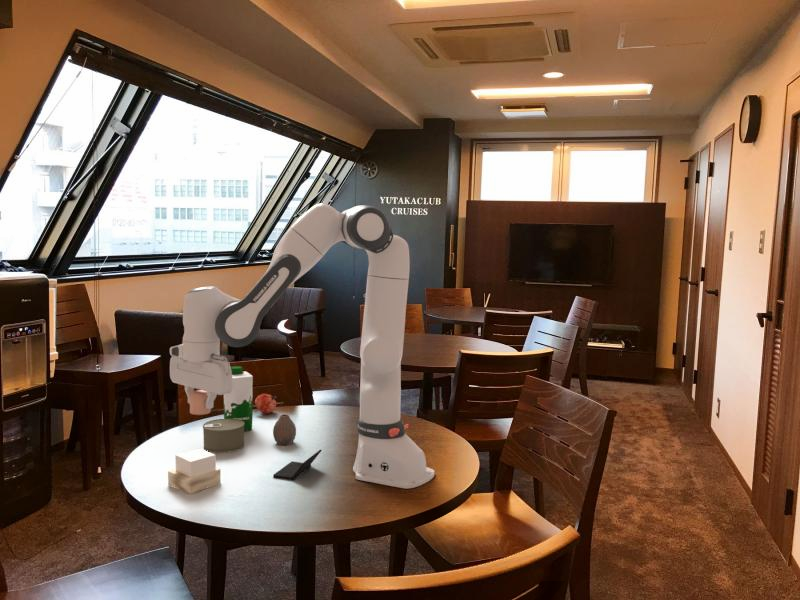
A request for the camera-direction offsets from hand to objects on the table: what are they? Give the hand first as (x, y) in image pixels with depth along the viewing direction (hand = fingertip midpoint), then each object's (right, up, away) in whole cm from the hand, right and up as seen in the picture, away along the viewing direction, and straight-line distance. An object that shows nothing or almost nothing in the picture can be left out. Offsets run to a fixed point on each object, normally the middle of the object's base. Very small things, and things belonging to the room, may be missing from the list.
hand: (200, 405), depth 158 cm
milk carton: (-3, -16, +48) cm, 50 cm away
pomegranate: (+2, -14, +66) cm, 67 cm away
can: (-3, -18, +30) cm, 35 cm away
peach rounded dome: (0, -2, 0) cm, 2 cm away
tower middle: (-2, -17, +1) cm, 17 cm away
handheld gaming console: (+23, -20, +11) cm, 32 cm away
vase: (+15, -17, +34) cm, 41 cm away
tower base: (-2, -21, +2) cm, 21 cm away
